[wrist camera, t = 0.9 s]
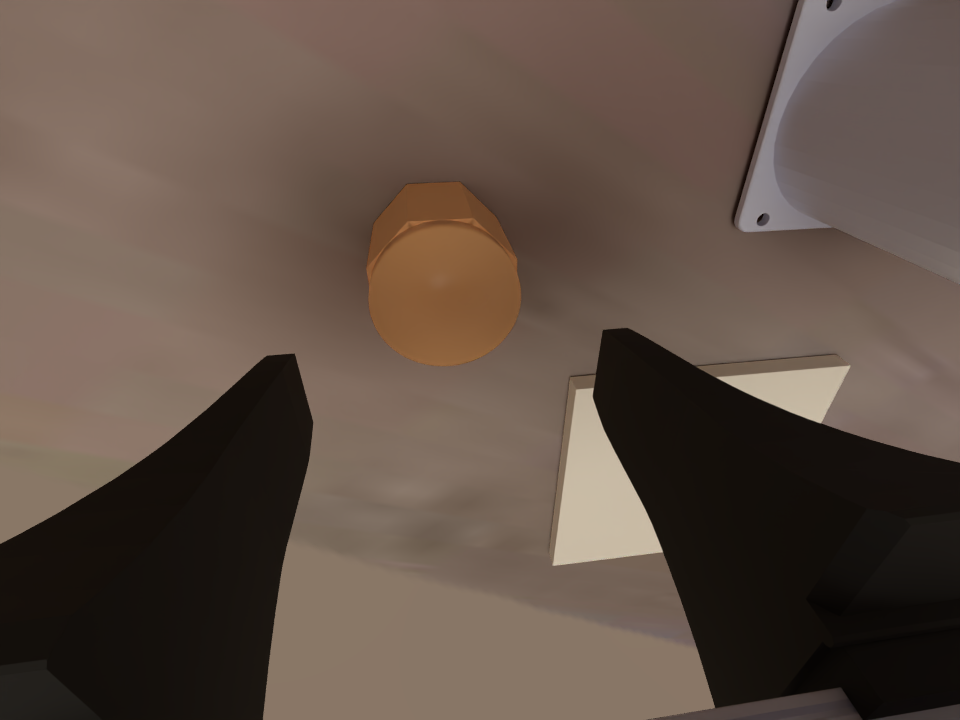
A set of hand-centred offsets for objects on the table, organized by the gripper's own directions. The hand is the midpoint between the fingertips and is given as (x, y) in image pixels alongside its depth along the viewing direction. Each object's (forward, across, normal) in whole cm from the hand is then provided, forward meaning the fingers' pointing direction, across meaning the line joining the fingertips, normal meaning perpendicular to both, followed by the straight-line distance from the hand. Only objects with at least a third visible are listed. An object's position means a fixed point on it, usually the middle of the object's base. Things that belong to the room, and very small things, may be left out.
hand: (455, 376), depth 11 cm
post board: (+9, -13, +14) cm, 21 cm away
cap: (+9, 0, 0) cm, 9 cm away
